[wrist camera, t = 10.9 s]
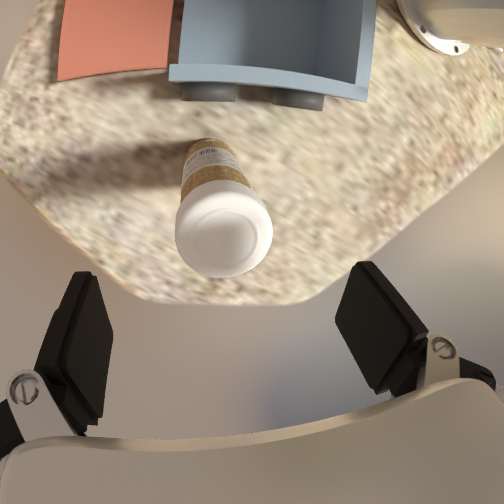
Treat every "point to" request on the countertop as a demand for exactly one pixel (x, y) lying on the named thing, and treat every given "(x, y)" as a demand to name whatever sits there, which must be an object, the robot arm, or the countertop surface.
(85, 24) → the panel
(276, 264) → the countertop surface
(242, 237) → the sprinkles bottle
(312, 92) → the box
